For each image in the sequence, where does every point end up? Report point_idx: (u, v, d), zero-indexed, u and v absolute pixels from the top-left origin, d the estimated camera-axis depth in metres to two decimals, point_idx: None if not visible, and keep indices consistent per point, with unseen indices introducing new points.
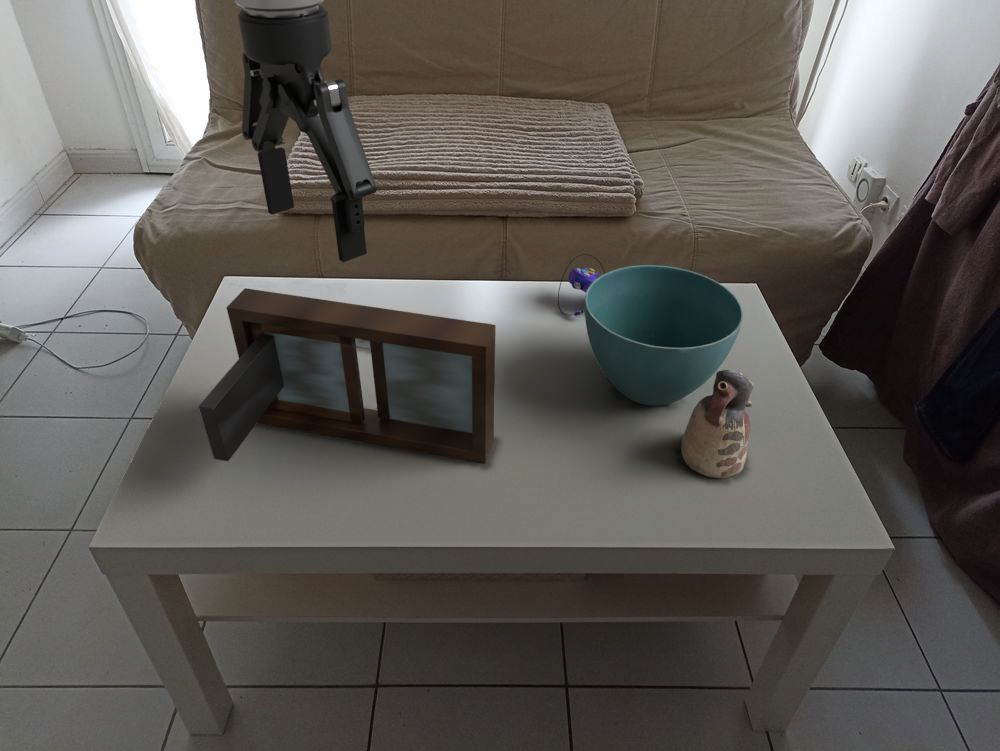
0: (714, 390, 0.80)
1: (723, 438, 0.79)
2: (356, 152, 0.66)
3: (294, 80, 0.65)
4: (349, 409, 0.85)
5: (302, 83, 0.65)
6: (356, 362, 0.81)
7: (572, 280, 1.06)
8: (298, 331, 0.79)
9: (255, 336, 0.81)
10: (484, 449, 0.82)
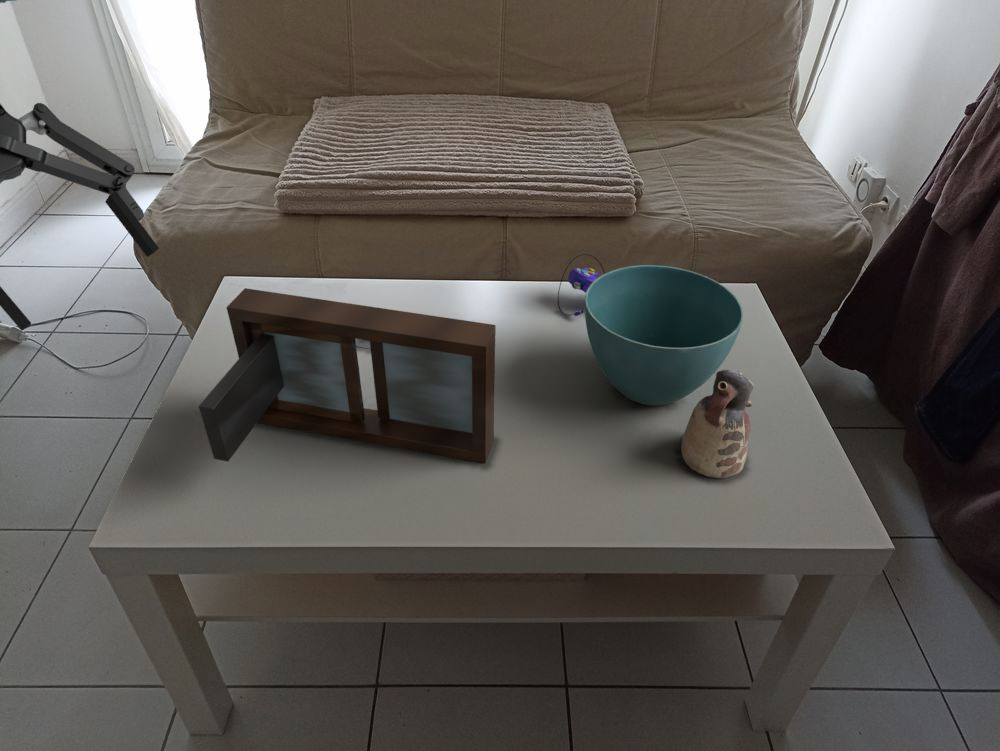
0: (714, 390, 0.80)
1: (723, 438, 0.79)
2: None
3: (0, 126, 0.69)
4: (349, 409, 0.85)
5: (13, 120, 0.69)
6: (356, 362, 0.81)
7: (572, 280, 1.06)
8: (298, 331, 0.79)
9: (255, 336, 0.81)
10: (484, 449, 0.82)
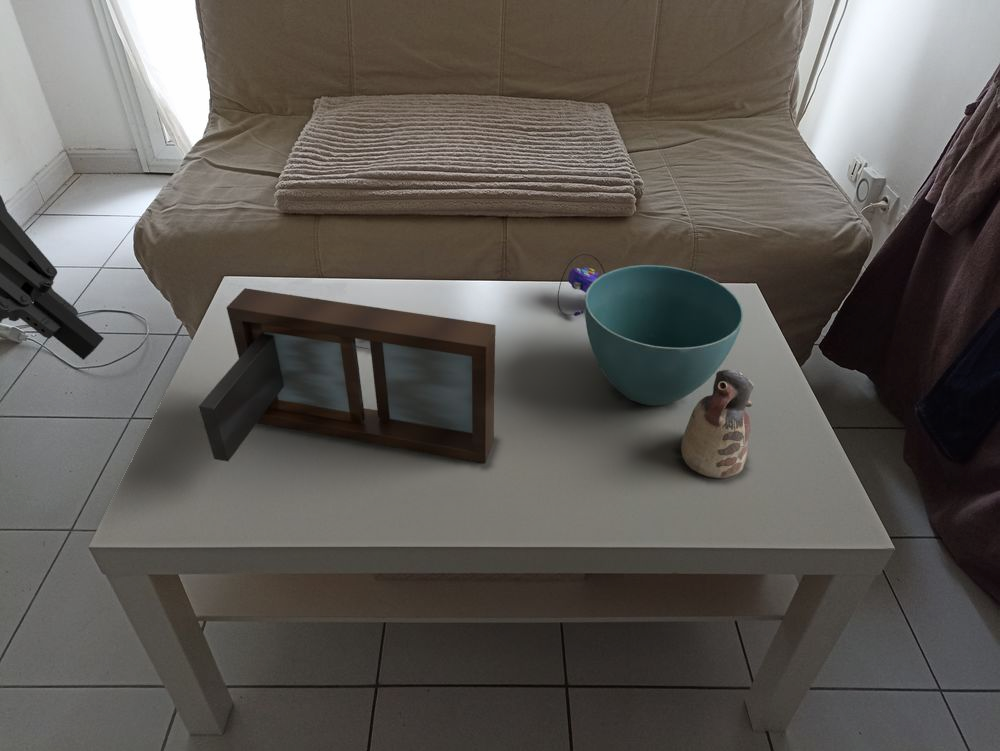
0: (714, 390, 0.80)
1: (723, 438, 0.79)
2: None
3: None
4: (349, 409, 0.85)
5: None
6: (356, 362, 0.81)
7: (572, 280, 1.06)
8: (298, 331, 0.79)
9: (255, 336, 0.81)
10: (484, 449, 0.82)
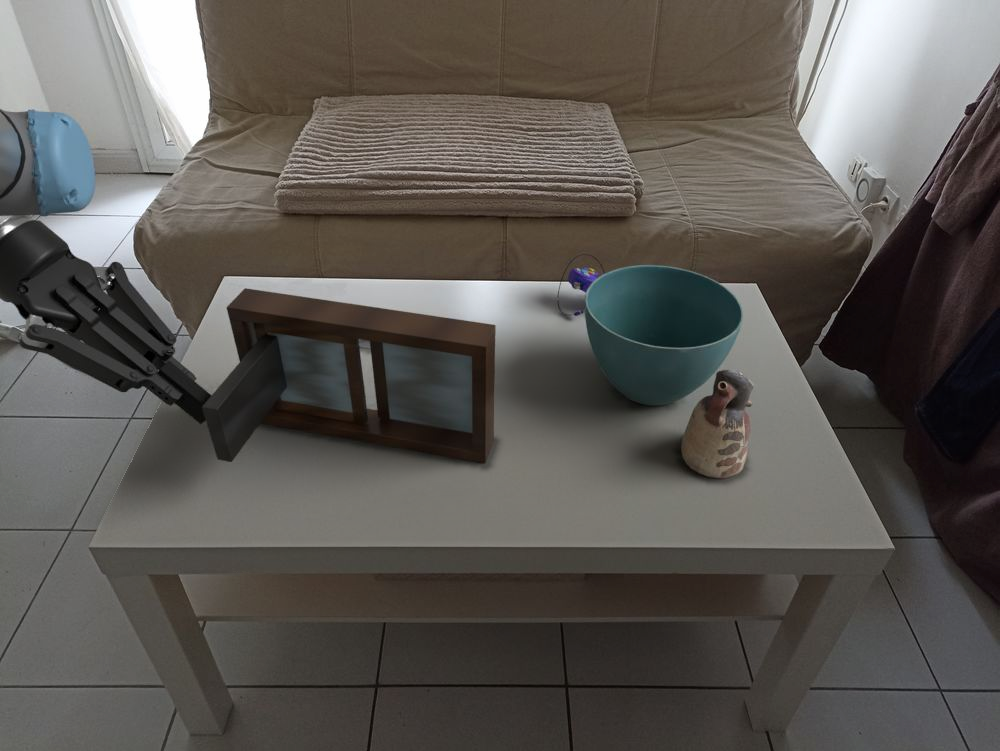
0: (714, 390, 0.80)
1: (723, 438, 0.79)
2: None
3: (75, 268, 0.71)
4: (352, 410, 0.85)
5: (88, 264, 0.72)
6: (359, 362, 0.81)
7: (572, 280, 1.06)
8: (301, 331, 0.79)
9: (258, 336, 0.81)
10: (484, 449, 0.82)
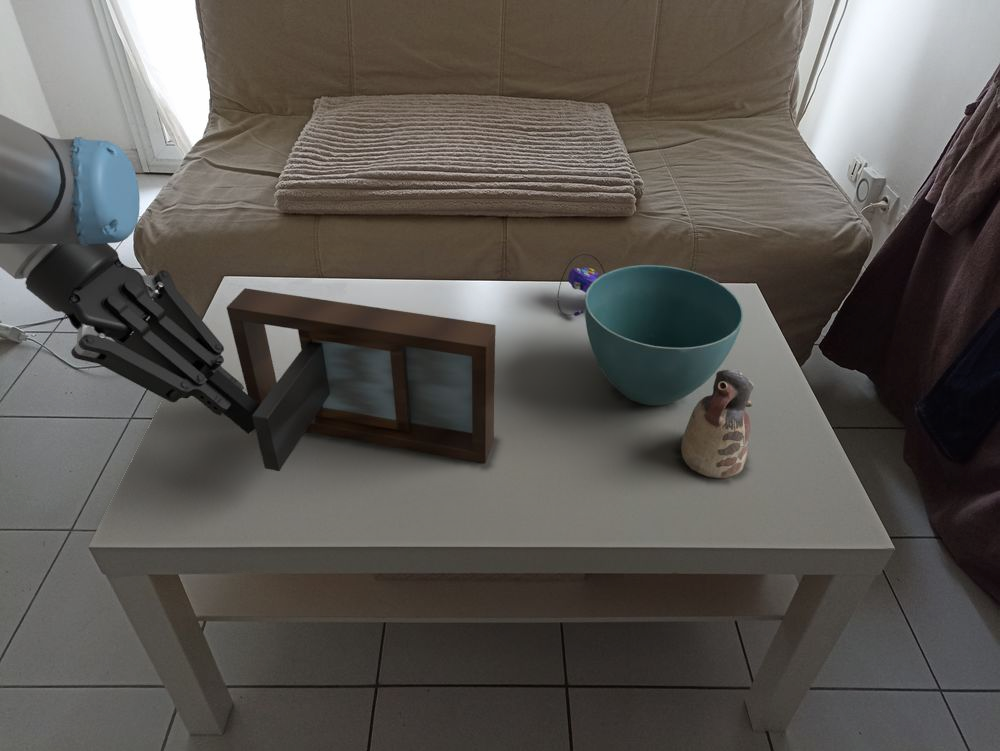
0: (714, 390, 0.80)
1: (723, 438, 0.79)
2: None
3: (124, 276, 0.70)
4: (396, 417, 0.84)
5: (137, 272, 0.71)
6: (405, 370, 0.80)
7: (572, 280, 1.06)
8: (347, 339, 0.78)
9: (303, 344, 0.80)
10: (484, 449, 0.82)
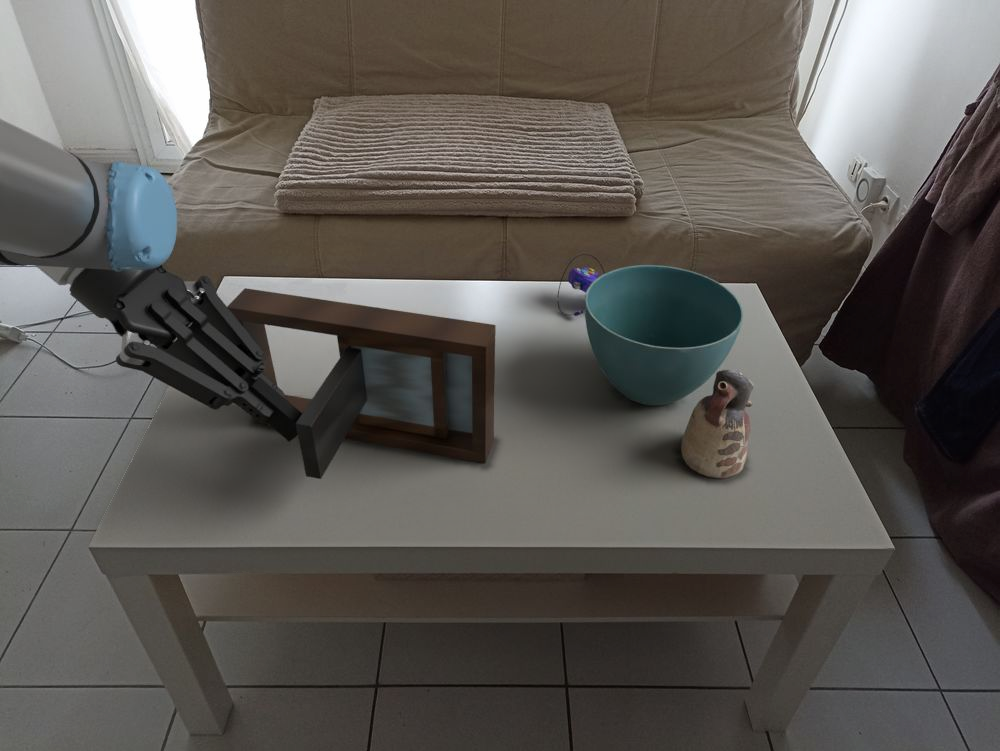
0: (714, 390, 0.80)
1: (723, 438, 0.79)
2: None
3: (167, 282, 0.69)
4: (433, 424, 0.83)
5: (179, 278, 0.70)
6: (445, 376, 0.79)
7: (572, 280, 1.06)
8: (387, 345, 0.78)
9: (341, 350, 0.80)
10: (484, 449, 0.82)
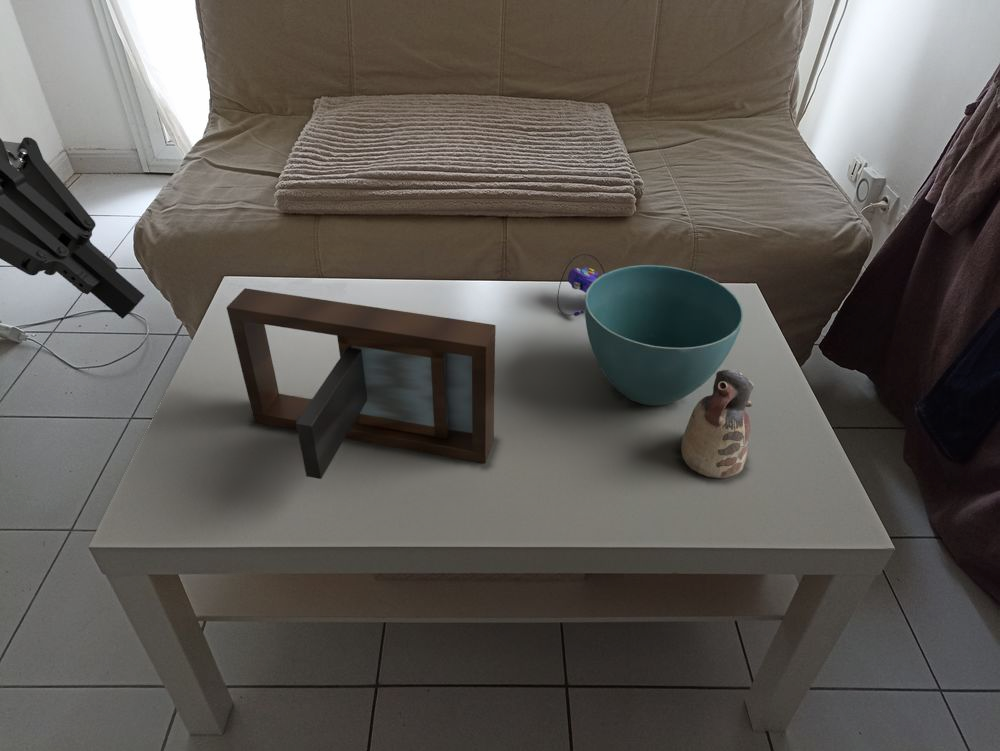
0: (714, 390, 0.80)
1: (723, 438, 0.79)
2: None
3: None
4: (434, 424, 0.83)
5: None
6: (445, 376, 0.79)
7: (572, 280, 1.06)
8: (387, 345, 0.78)
9: (341, 350, 0.80)
10: (484, 449, 0.82)
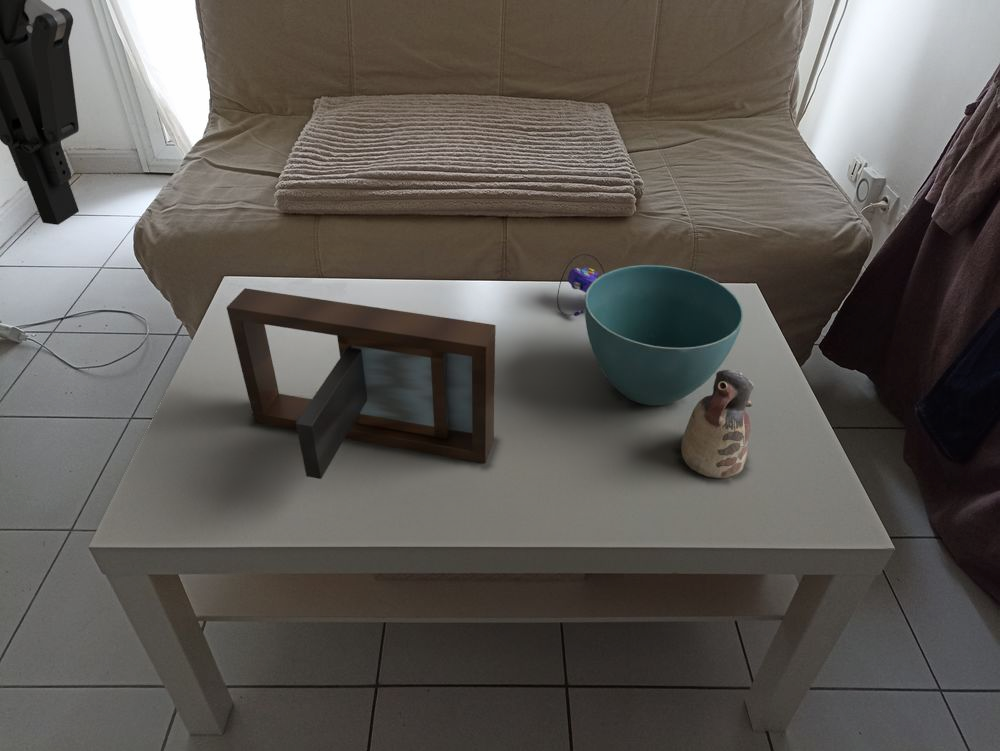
0: (714, 390, 0.80)
1: (723, 438, 0.79)
2: (67, 93, 0.58)
3: None
4: (434, 424, 0.83)
5: None
6: (445, 376, 0.79)
7: (572, 280, 1.06)
8: (387, 345, 0.78)
9: (341, 350, 0.80)
10: (484, 449, 0.82)
